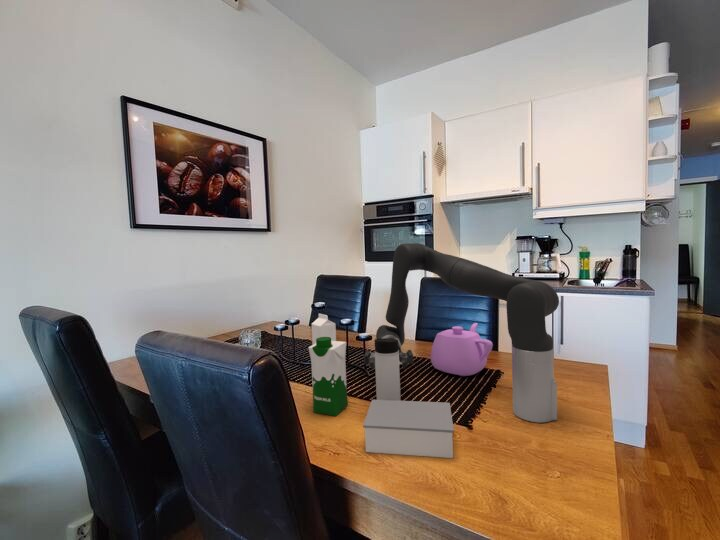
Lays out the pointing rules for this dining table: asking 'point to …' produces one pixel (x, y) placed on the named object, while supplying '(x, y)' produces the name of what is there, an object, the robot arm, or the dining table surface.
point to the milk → (323, 328)
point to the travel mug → (387, 369)
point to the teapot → (460, 351)
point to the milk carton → (328, 376)
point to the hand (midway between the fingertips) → (388, 365)
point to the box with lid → (409, 428)
